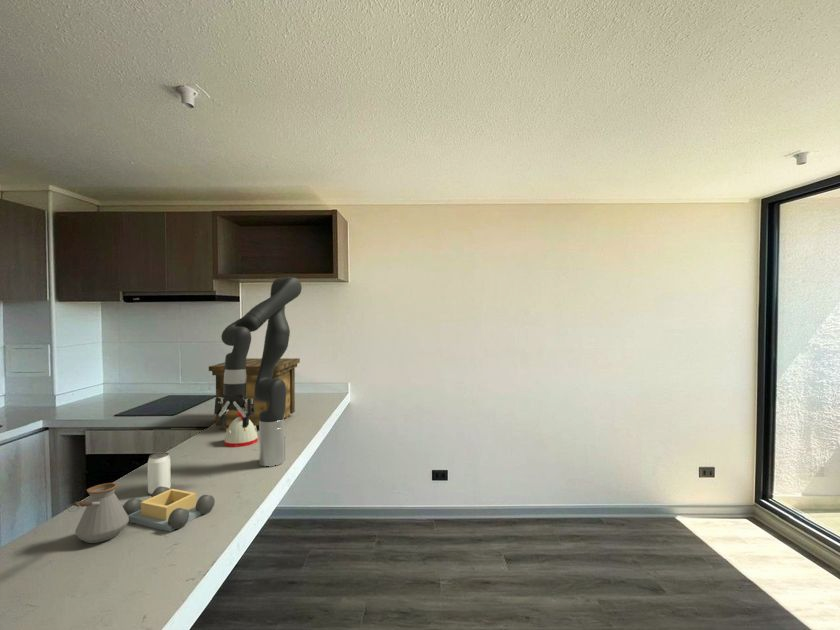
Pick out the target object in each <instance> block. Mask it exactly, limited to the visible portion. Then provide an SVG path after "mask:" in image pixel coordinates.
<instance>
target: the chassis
mask: <svg viewBox="0 0 840 630" xmlns="http://www.w3.org/2000/svg"><path fill="white" fill-rule="evenodd" d="M150 496H151V497H150V498H148V499H144V500H141V499H139V498H135V497H134V498H130V499H127V500H126V501H125V502H124V504H123V505H122V507H123V508H124V510H125V512H126V513H127V515H128V517H129V521H128V523H132V524H137V525H141V526H145V527H150V528H154V529H158V530H163V531H167V532H173V531H174V530H176V529H177V530H179V529H182V528H184V527H185V526H186V524H188V523H189V522H191V521H192V520H194V519H197V518H198V517H200V516H202V515H207V514H208V513H210V512H211V511H212V510H213V508H214V507H215V504H216V503H215V497H214V496H213V495H208V494H202V495H201V496H199V498H198V499H197V492H191V491H187V490H181V489H176V488H170V489H169V488H167V487H162V486H160V487H158V488H156V489H155V490H154V492H153V493H152V495H150Z"/></svg>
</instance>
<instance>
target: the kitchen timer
mask: <svg viewBox="0 0 840 630" xmlns="http://www.w3.org/2000/svg"><path fill="white" fill-rule="evenodd" d="M242 420H243V416H242V414H241V413H240V412H239V411H238V417H237V418H236V419H235V420H233V422H232V423H231V424H230V426H229V427H228V429H225V434H224V446H226V447H229V448H240V447H247V446H251V445H254V444H256V443H258V441H259V436H258V430H257V425H253V423H252V422H251V421H250V420H249V425H248V426H247V427H246V428H242Z"/></svg>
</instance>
